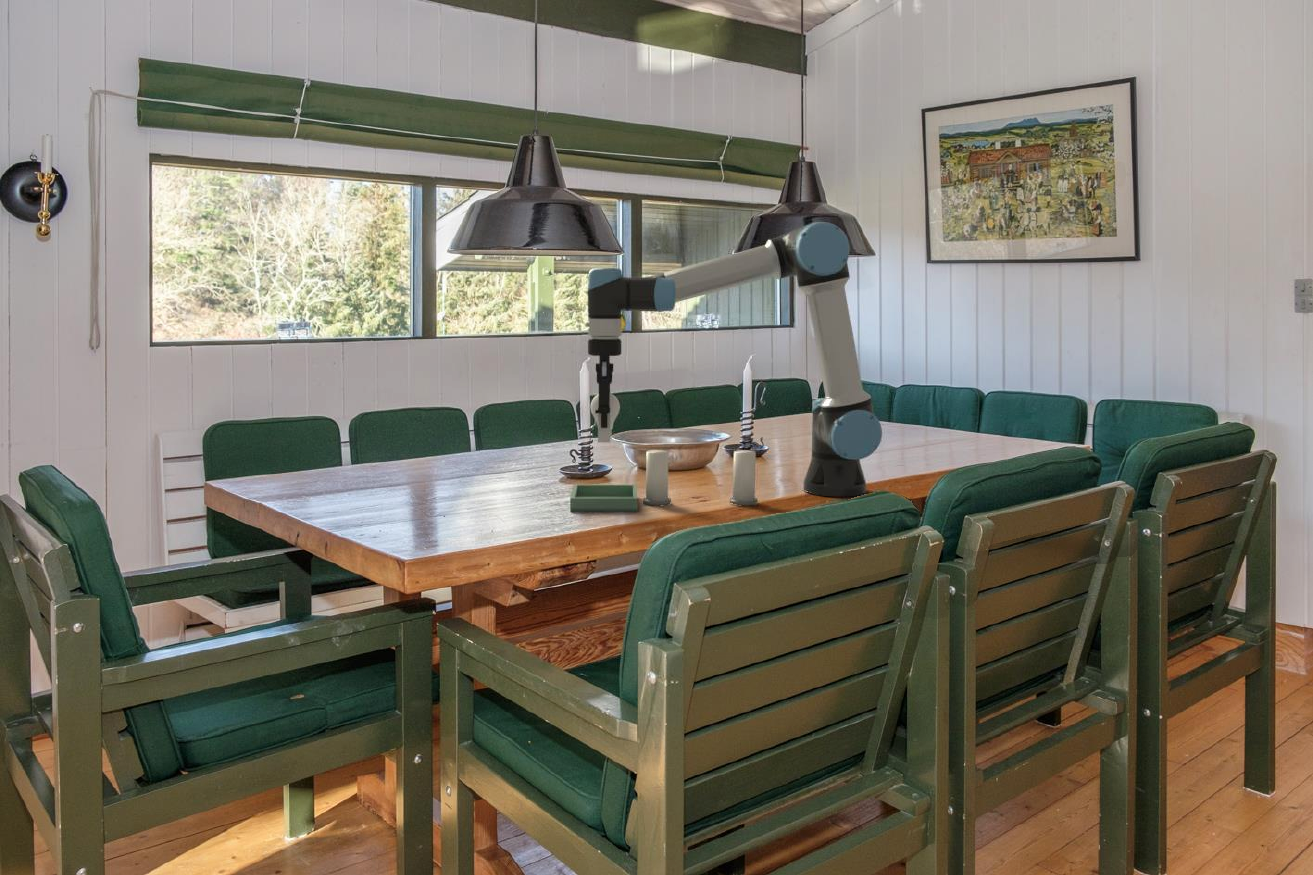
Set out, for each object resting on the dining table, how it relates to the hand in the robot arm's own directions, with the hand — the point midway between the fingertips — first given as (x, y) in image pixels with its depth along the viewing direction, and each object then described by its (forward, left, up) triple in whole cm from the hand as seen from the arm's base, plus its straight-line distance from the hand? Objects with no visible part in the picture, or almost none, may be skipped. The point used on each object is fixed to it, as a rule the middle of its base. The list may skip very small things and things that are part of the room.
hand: (604, 439), depth 244 cm
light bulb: (0, 0, 0) cm, 0 cm away
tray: (0, 0, -15) cm, 15 cm away
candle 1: (-12, -1, -15) cm, 19 cm away
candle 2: (-32, -1, -15) cm, 35 cm away
